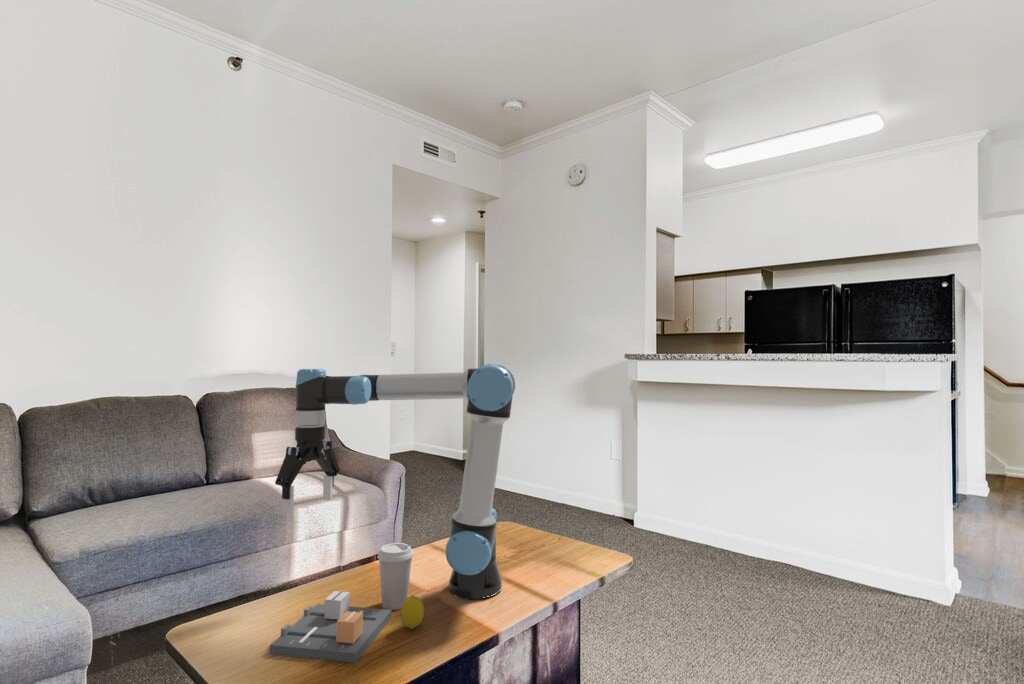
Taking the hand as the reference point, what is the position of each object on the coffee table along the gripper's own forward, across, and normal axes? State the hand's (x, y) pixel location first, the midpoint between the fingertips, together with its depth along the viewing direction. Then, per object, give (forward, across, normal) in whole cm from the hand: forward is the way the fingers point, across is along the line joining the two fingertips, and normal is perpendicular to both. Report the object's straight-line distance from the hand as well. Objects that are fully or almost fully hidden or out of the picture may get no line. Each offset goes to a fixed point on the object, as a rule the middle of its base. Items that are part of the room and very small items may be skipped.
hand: (308, 505), depth 147 cm
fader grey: (+24, +5, +15) cm, 29 cm away
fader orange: (+24, +12, +26) cm, 37 cm away
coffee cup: (+26, -10, +21) cm, 35 cm away
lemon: (+26, -2, +33) cm, 42 cm away
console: (+26, +9, +18) cm, 33 cm away
